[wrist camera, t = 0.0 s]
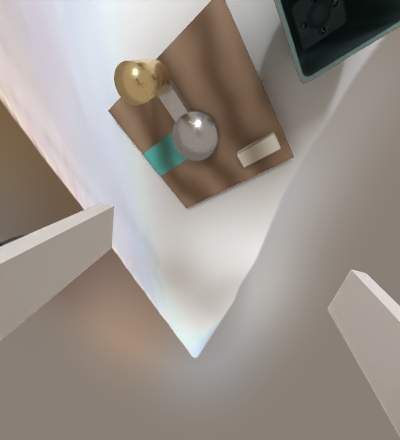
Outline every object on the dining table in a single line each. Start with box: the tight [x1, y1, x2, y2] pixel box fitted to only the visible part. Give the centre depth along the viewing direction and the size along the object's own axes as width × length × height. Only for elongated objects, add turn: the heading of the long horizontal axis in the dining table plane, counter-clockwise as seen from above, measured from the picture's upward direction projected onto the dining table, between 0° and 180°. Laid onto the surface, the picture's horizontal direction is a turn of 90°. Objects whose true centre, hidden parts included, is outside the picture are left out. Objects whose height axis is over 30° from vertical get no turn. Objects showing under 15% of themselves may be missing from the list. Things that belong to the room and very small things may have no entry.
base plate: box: [108, 0, 293, 208], centre depth 33 cm, size 22×22×4 cm
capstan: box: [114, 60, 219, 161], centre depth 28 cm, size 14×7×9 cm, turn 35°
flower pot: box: [274, 0, 400, 83], centre depth 20 cm, size 9×9×9 cm
